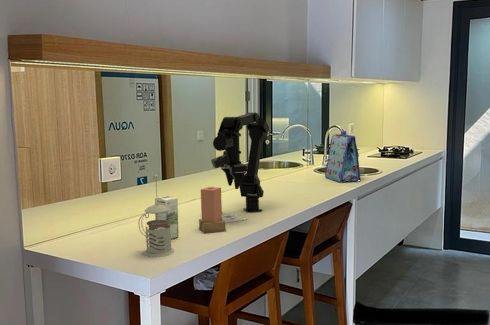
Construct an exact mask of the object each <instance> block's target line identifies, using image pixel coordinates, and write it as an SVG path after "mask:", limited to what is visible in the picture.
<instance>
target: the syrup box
mask: <svg viewBox="0 0 490 325" xmlns="http://www.w3.org/2000/svg"><path fill="white" fill-rule="evenodd" d="M178 200H179V199H178V198H177V197H175V196H171V195H166V196H162V197H161V196H160V197H156V198H154V205H156V204H159V205H164V206H167V207H168V208H170V211H169V212H167V213H162V214H158V219H157V214H154V216H155V217H154V218H155V219H154V220H159V219H160V220H167V221H169V224H167V225H170V231H171V240H174V239H178V238H179V202H178ZM160 229H166V228H163V227H160V228H157V229H155V230H160ZM163 237H164V236H163ZM155 238H159V237H155Z"/></svg>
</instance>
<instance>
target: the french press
mask: <svg viewBox="0 0 490 325" xmlns="http://www.w3.org/2000/svg"><path fill="white" fill-rule="evenodd" d="M152 178H153V179H155V187H156V188H155V190H156V191H155V195H156V197H158V189H157V188H158V185H157V179H159V178H160V176H159V175H158V174H154V175H152ZM169 211H170V208H168V207H167V206H164V205H159V204H156V205H155V204H152V205H150V206H148V207H146V209H144V213H143V214H142V215H141V216H140V217H139V219H138V225H140V220H141V227H142V230H143V232H144V233H145V234H144V233H143V232H142V230H141V227H140V226H138V230H139V232H140V233H141V234H142V235H143V236H144V237H145V239H146V240H145V241H146V250H144V252H143V255H145V256H147V257H151V258H153V257H154V258H157V257H158V258H160V257H166V256H171V255H172V254H174V253H175V252H176V251H175V250H174V248H172V239H171V231H170V225H167V224H169V221H167V220H160V219H159V220H155V219H153V220H149V221H147V222H146V225H147V226H145V229H144V226H143V219H144V217H145V218H146V219H149V217H150V215H151V214H153V215H155V214H157V219H158V214H162V213H167V212H169ZM147 215H148V216H147ZM160 227H163V228H166V229H160V230H156V229H157V228H160ZM163 236H164V237H163ZM156 237H159V238H156Z"/></svg>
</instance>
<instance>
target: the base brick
mask: <svg viewBox="0 0 490 325" xmlns="http://www.w3.org/2000/svg"><path fill="white" fill-rule="evenodd" d="M198 228H199V230H200V231H202V232H201V233H203V234H211V233H220V232H221V233H222V232H227V230H226V222H225V221H224V220H220V221H218V222H215V223H212V222H202V218H200V219H198Z"/></svg>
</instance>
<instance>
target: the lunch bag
mask: <svg viewBox="0 0 490 325" xmlns="http://www.w3.org/2000/svg"><path fill="white" fill-rule="evenodd" d="M329 144H330V145H329V151H328V156H327V162H326V166H325V172H324V173H325V174H324V178H325V177H326V178H325V179H328V178H329V180H331V179H332V181H334V180H335V182H337V181H338V183H340V182H343V183H347V182H346V181H348V182H357V181H358V180H360V181H359V182H361V181H362V178H361V171H360V162H359V161H360V160H359V157H360V156H359V150H358V146H357V141H356V136H355V135H350V134H348V133H347V130H341V131H340V133H338V134H337V133H335V134H333V135H332V137H331V139H330V143H329Z"/></svg>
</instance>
